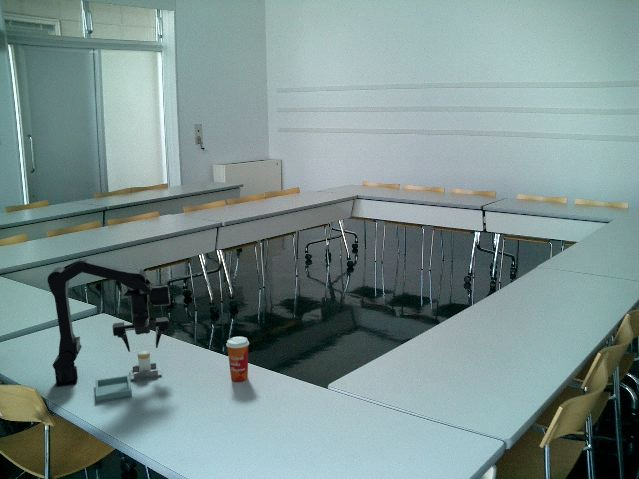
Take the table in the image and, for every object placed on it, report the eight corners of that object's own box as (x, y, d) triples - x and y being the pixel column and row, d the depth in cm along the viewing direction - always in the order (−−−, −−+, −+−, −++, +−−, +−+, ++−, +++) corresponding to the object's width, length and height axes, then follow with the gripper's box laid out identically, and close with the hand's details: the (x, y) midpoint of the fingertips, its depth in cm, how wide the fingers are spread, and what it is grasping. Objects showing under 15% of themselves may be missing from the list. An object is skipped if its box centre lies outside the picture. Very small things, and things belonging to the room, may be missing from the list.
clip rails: (130, 381, 221) (130, 374, 220) (129, 372, 228) (128, 365, 228) (161, 376, 224) (161, 369, 224) (159, 368, 231) (158, 361, 231)
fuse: (139, 377, 224) (138, 356, 222) (139, 373, 227) (137, 351, 226) (152, 375, 225) (150, 354, 223) (150, 371, 229) (149, 350, 227)
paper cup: (223, 381, 219) (221, 342, 217) (236, 372, 226) (234, 334, 223) (242, 385, 216) (240, 345, 213) (255, 376, 223) (253, 338, 220)
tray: (96, 402, 206) (95, 396, 205) (95, 386, 218) (95, 380, 217) (132, 396, 209) (131, 390, 209) (129, 380, 221) (129, 374, 221)
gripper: (112, 317, 210) (116, 362, 214) (170, 310, 216) (173, 354, 220) (110, 307, 221) (114, 350, 224) (166, 301, 227) (169, 343, 230)
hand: (143, 349), depth 224 cm, fingers open, 9 cm apart
